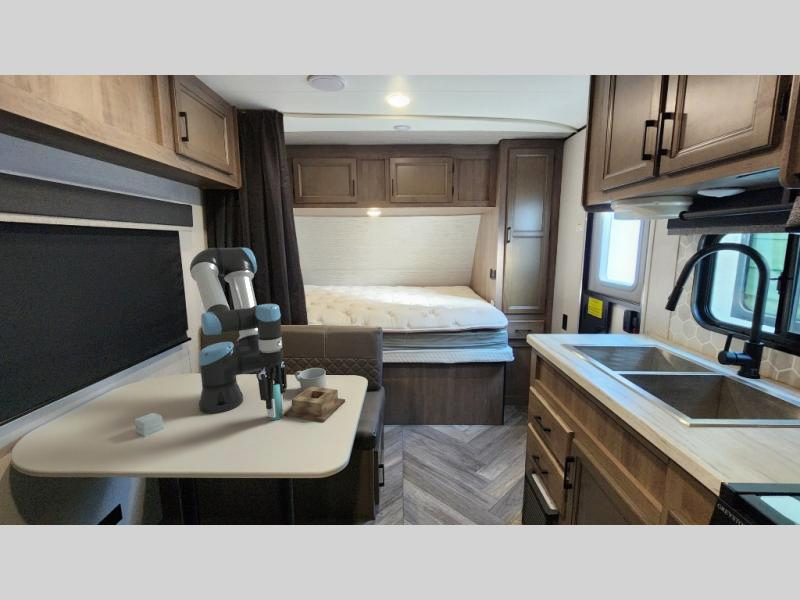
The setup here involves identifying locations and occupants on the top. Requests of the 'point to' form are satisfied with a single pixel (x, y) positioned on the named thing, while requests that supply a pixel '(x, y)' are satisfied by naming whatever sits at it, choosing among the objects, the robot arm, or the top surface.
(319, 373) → the teacup
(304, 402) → the socket
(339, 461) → the top surface
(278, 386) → the peg
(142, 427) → the small box
